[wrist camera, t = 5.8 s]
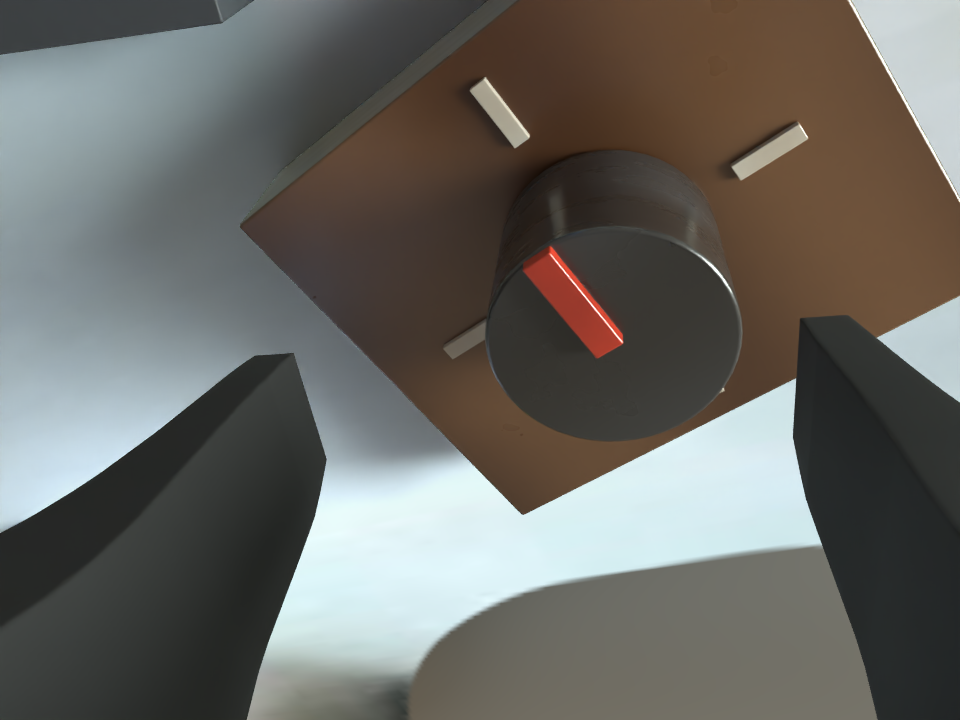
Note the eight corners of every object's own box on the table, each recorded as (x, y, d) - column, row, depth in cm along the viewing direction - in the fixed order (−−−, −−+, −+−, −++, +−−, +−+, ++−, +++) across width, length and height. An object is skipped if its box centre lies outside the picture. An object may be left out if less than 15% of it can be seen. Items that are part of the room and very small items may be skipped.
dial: (758, 273, 18) (794, 380, 15) (581, 374, 20) (580, 488, 17) (640, 102, 16) (651, 183, 13) (458, 229, 18) (430, 327, 15)
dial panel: (529, 442, 25) (522, 521, 22) (278, 172, 21) (235, 230, 19) (952, 212, 20) (1006, 279, 17) (724, -196, 16) (749, -187, 14)
